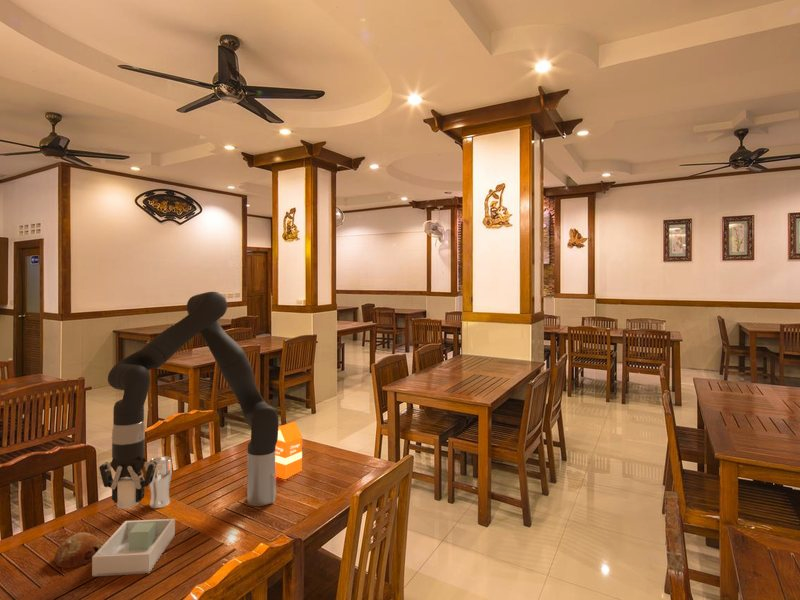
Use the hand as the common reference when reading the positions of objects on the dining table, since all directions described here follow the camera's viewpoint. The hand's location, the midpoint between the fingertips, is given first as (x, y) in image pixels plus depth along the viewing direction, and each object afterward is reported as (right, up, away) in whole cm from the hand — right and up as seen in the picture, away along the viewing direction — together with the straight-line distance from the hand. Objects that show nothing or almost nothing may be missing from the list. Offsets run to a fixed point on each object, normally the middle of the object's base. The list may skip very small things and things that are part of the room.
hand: (128, 501), depth 122 cm
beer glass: (-8, -15, +30) cm, 35 cm away
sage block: (+1, -15, +6) cm, 16 cm away
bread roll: (-13, -16, +1) cm, 21 cm away
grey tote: (+1, -16, +2) cm, 16 cm away
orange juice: (+29, -15, +56) cm, 65 cm away
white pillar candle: (0, -1, 0) cm, 1 cm away
